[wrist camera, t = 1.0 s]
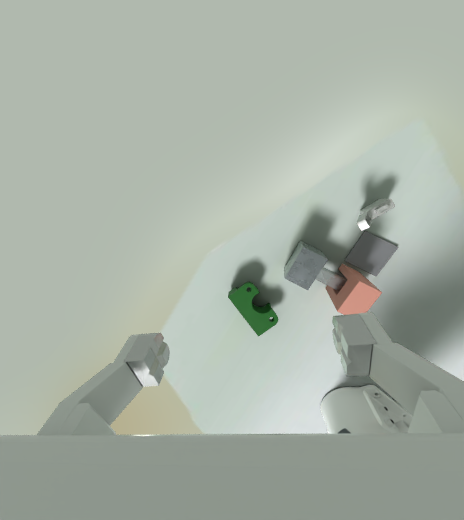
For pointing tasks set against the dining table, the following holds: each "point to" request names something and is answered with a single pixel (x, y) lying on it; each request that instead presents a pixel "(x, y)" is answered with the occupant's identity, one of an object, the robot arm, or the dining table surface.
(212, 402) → the dining table surface
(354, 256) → the mat
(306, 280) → the vise
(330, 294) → the tall salmon pink brick
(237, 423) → the dining table surface
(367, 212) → the lighter
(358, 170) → the dining table surface
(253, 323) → the clamp
